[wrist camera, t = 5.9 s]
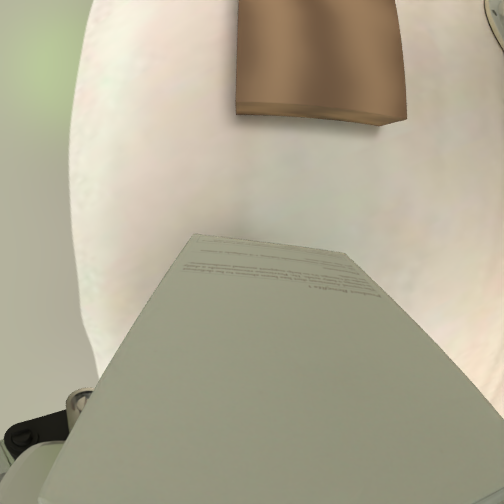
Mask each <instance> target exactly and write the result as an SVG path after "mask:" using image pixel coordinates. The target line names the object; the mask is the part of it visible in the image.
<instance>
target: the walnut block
mask: <svg viewBox="0 0 504 504" xmlns="http://www.w3.org/2000/svg"><path fill="white" fill-rule="evenodd" d="M236 115H273V116H292V117H306V118H318V119H329V120H338V121H347V122H355V123H362V124H370V125H376V126H382V125H386V124H390V123H394V122H398V121H402V120H406V119H407V106H406V86H405V73H404V62H403V52H402V43H401V36H400V28H399V22H398V16H397V10H396V4H395V0H239V9H238V37H237V70H236Z"/></svg>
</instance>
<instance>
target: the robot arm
mask: <svg viewBox="0 0 504 504" xmlns="http://www.w3.org/2000/svg"><path fill="white" fill-rule="evenodd" d="M485 9H486V14H487V17H488V20H489V23H490V25H491V28H492V30H493V32H494V34H495V36H496V38H497V40H498V41H499V43H500V45H501V47H502V48H503V50H504V0H485ZM94 389H95V388H92V387H90V388H81V389H78V390H76V391H74V392H72V393H71V394H70V395H69V396H68V398H67V400H66V410H62V411H59V412H56V413H52V414H49V415H46V416H42V417H39V418H35V419H32V420H28V421H24V422H21V423H17V424H15V425H13V426H11V427H10V428H9V429H8V430H7V431H6V433H5V436H4V439H3V440H0V504H39V503H38V500H37V499H38V496H39V494H40V491H41V489H42V486H43V484H44V482H45V480H46V478H47V476H48V474H49V472H50V470H51V468H52V466H53V464H54V462H55V460H56V458H57V456H58V455H59V453H60V451H61V449H62V447H63V445H64V443H65V441H66V440H67V438H68V436H69V434H70V432H71V430H72V429H73V427H74V425H75V423H76V421H77V419H78V418H79V416H80V414H81V412H82V410H83V408H84V407H85V405H86V403H87V401H88V399H89V398H90V396H91V394H92V392H93V391H94ZM498 504H504V500H503V501H501V502H499V503H498Z"/></svg>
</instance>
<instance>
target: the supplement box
mask: <svg viewBox="0 0 504 504" xmlns="http://www.w3.org/2000/svg"><path fill="white" fill-rule="evenodd" d="M37 500H38V503H39V504H498V503H499V502H501V501H503V500H504V419H503V418H502V417H501V416H500V415H499V413H498V412H497V411H496V410H495V409H494V407H493V406H492V405H491V404H490V403H489V401H488V400H487V399H486V398H485V397H484V396H483V394H482V393H481V392H480V391H479V390H478V389H477V387H476V386H475V385H474V384H473V383H472V382H471V381H470V380H469V378H468V377H467V376H466V375H465V374H464V373H463V372H462V371H461V370H460V369H459V367H458V366H457V365H456V364H455V363H454V362H453V361H452V360H451V359H450V358H449V357H448V356H447V355H446V353H445V352H444V351H443V350H442V349H441V348H440V347H439V346H438V345H437V344H436V343H435V342H434V341H433V340H432V339H431V338H430V337H429V336H428V334H427V333H426V332H425V331H424V330H423V329H422V328H421V327H420V326H419V325H418V324H417V323H416V322H415V321H414V320H413V319H412V318H411V317H410V316H409V315H408V314H407V313H406V312H405V311H404V310H403V309H402V308H401V307H400V306H399V305H398V304H397V303H396V302H395V301H394V300H393V299H392V298H391V297H390V296H389V295H388V294H387V293H386V292H385V291H384V290H383V289H382V288H381V287H379V286H378V285H377V284H376V283H375V282H374V281H373V280H372V279H371V278H370V277H369V276H368V275H367V274H366V273H365V272H364V271H363V270H362V269H361V268H360V267H359V266H358V265H357V264H355V263H354V261H352V260H351V259H350V258H349V257H348V256H347V255H346V254H345V253H340V252H333V251H327V250H321V249H313V248H306V247H298V246H290V245H282V244H274V243H266V242H258V241H250V240H242V239H233V238H225V237H217V236H208V235H200V234H193V235H192V237H191V238H190V240H189V241H188V242H187V244H186V245H185V247H184V248H183V250H182V251H181V253H180V254H179V256H178V257H177V258H176V260H175V261H174V263H173V264H172V266H171V267H170V269H169V270H168V272H167V273H166V275H165V276H164V278H163V279H162V281H161V282H160V284H159V285H158V287H157V289H156V290H155V292H154V293H153V295H152V296H151V298H150V299H149V301H148V302H147V304H146V305H145V307H144V308H143V310H142V312H141V313H140V315H139V316H138V318H137V319H136V321H135V323H134V324H133V326H132V327H131V329H130V331H129V332H128V334H127V335H126V337H125V339H124V340H123V342H122V344H121V345H120V347H119V348H118V350H117V352H116V353H115V355H114V357H113V358H112V360H111V362H110V363H109V365H108V366H107V368H106V370H105V371H104V373H103V375H102V377H101V378H100V380H99V382H98V384H97V385H96V387H95V389H94V391H93V392H92V394H91V396H90V398H89V399H88V401H87V403H86V405H85V407H84V408H83V410H82V412H81V414H80V416H79V418H78V419H77V421H76V423H75V425H74V427H73V429H72V430H71V432H70V434H69V436H68V438H67V440H66V441H65V443H64V445H63V447H62V449H61V451H60V453H59V455H58V456H57V458H56V460H55V462H54V464H53V466H52V468H51V470H50V472H49V474H48V476H47V478H46V480H45V482H44V484H43V486H42V489H41V491H40V494H39V496H38V499H37Z"/></svg>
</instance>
